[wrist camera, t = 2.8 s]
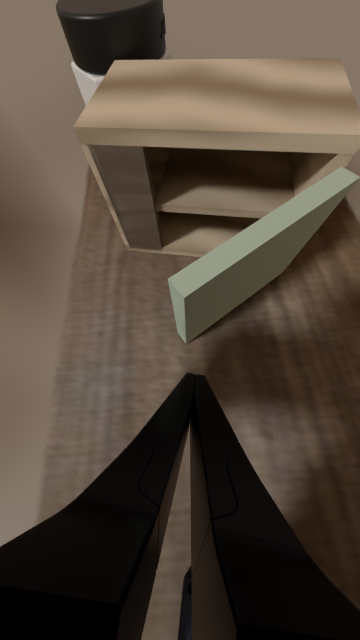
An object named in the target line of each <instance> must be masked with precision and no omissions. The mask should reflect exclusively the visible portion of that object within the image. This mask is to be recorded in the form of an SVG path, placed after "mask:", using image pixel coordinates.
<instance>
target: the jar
mask: <svg viewBox="0 0 360 640" xmlns="http://www.w3.org/2000/svg"><path fill="white" fill-rule="evenodd" d="M56 10H57V13H58V17H59V19H60V22H61V25H62V28H63V31H64V34H65V37H66V39H67V42H68V45H69V48H70V51H71V54H72V57H73V59H74V60H73V61H72V63H71V66H72V69H73V71H74V74H75V77H76V80H77V83H78V85H79V88H80V91H81V94H82V96H83V99H84V102H85V104H86V106H87V104H88V102H89V101H90V99H91V98H92V96H93V94H94V93H95V91H96V89H97V88H98V86H99V85H100V83H101V81H102V80H103V78H104V77H105V75H106V73H107V72H108V70H109V69H110V67H111V65H112V64H113V62H114V61H115V60H171V52H170V50H169V49H168V48H166V45H165V33H166V31H165V16H164V13H163V0H58V2H57V4H56Z"/></svg>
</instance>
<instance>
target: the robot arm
mask: <svg viewBox="0 0 360 640" xmlns="http://www.w3.org/2000/svg"><path fill="white" fill-rule="evenodd" d="M190 418H191V419H190ZM189 425H190V477H191V570H192V571H189V572H187V573H186V575H185V576H184V580H183V590H182V600H181V610H180V620H179V630H178V640H360V611H359V610H358V609H357V608H356V607H355V606H354V605H353V604H352V603H351V601H350V600H349V599H348V598H347V597H346V596H345V595H344V594H343V593H342V592H341V591H340V590H339V589H338V588H337V587H336V586H335V585H334V584H333V583H332V582H331V581H330V580H329V579H328V578H327V577H326V576H325V574H324V573H323V572H322V571H321V570H320V569H319V567H318V566H317V565H316V563H315V562H314V561H313V560H312V558H311V557H310V556H309V554H308V553H307V552H306V550H305V549H304V547H303V546H302V544H301V543H300V541H299V540H298V538H297V537H296V535H295V534H294V532H293V530H292V529H291V527H290V526H289V524H288V523H287V521H286V519H285V518H284V516H283V515H282V513H281V512H280V510H279V509H278V507H277V505H276V504H275V502H274V501H273V499H272V498H271V496H270V494H269V493H268V491H267V490H266V488H265V487H264V485H263V483H262V482H261V480H260V478H259V477H258V475H257V474H256V472H255V470H254V469H253V467H252V465H251V463H250V461H249V460H248V458H247V456H246V454H245V452H244V450H243V448H242V447H241V445H240V443H239V442H238V439H237V437H236V435H235V433H234V431H233V429H232V427H231V426H230V424H229V422H228V420H227V418H226V416H225V414H224V412H223V410H222V408H221V406H220V404H219V402H218V400H217V399H216V397H215V395H214V393H213V391H212V389H211V387H210V385H209V383H208V381H207V379H206V377H205V376H204V375H199V374H196V376H195V374H192V373H186V375H185V376H184V377H183V378H182V380H181V381H180V382H179V383H178V385H177V386H176V387H175V388H174V390H173V391H172V392H171V393H170V395H169V396H168V397H167V399H166V400H165V401H164V402H163V404H162V405H161V406H160V407H159V409H158V410H157V411H156V412H155V414H154V415H153V416H152V417H151V419H150V420H149V421H148V422H147V424H146V425H145V426H144V427H143V429H142V430H141V431H140V432H139V434H138V435H137V436H136V437H135V438H134V440H133V441H132V442H131V443H130V444H129V445H128V446H127V447H126V449H125V450H124V451H123V452H122V453H121V454H120V455H119V456H118V457H117V458H116V459H115V460H114V461H113V462H112V463H111V464H110V465H109V466H108V467H107V468H106V469H105V470H104V471H103V472H102V473H101V474H100V475H99V476H98V477H97V478H96V479H95V480H94V481H93V482H92V483H91V484H90V485H89V486H88V487H87V488H86V489H85V490H84V491H83V492H82V493H81V494H80V495H79V496H78V497H77V498H76V499H75V500H74V501H72V502H71V503H70V504H69V505H67V506H66V507H65V508H64V509H62V510H61V511H59V512H58V513H56V514H55V515H53V516H51V517H50V518H48V519H46V520H45V521H43V522H41V523H40V524H38V525H36V526H35V527H33V528H31V529H29V530H28V531H26V532H24V533H23V534H21V535H19V536H18V537H16V538H14V539H13V540H11V541H9V542H7V543H6V544H4V545H2V546H1V547H0V640H141V637H142V632H143V628H144V624H145V619H146V615H147V610H148V606H149V602H150V597H151V593H152V588H153V584H154V580H155V575H156V569H157V566H158V562H159V558H160V553H161V549H162V544H163V540H164V536H165V531H166V527H167V522H168V518H169V514H170V509H171V505H172V500H173V496H174V491H175V487H176V483H177V478H178V474H179V469H180V465H181V461H182V456H183V452H184V447H185V443H186V439H187V434H188V430H189ZM190 583H192V589H191V588H189V586H188V585H189V584H190Z"/></svg>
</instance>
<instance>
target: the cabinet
mask: <svg viewBox="0 0 360 640" xmlns="http://www.w3.org/2000/svg"><path fill="white" fill-rule="evenodd" d="M73 128H74V130H75V132H76V134H77V137H78V139H79V141H80V143H81V145H82V148H83V150H84V152H85V155H86V157H87V159H88V162H89V164H90V166H91V168H92V171H93V173H94V175H95V177H96V180H97V182H98V184H99V186H100V189H101V191H102V193H103V196H104V198H105V200H106V202H107V205H108V207H109V209H110V211H111V214H112V216H113V218H114V220H115V223H116V225H117V227H118V230H119V232H120V234H121V236H122V239H123V241H124V243H125V245H126V248H127V250H130V251H140V252H151V253H162V254H173V255H184V256H195V257H203V256H204V255H206V254H207V253H209V252H210V251H212V250H213V249H215V248H216V247H218V246H220V245H221V244H223V243H224V242H226V241H227V240H229V239H230V238H232V237H233V236H235V235H237V234H238V233H240V232H241V231H243V230H244V229H246V228H247V227H249V226H250V225H252V224H254V223H255V222H257V221H258V220H260V219H261V218H263V217H264V216H266V215H267V214H269V213H270V212H272V211H274V210H275V209H277V208H278V207H280V206H281V205H283V204H284V203H286V202H287V201H289V200H291V199H292V198H294V197H295V196H297V195H298V194H300V193H301V192H303V191H304V190H306V189H308V188H309V187H311V186H312V185H314V184H315V183H317V182H318V181H320V180H321V179H323V178H324V177H326V176H328V175H329V174H331V173H332V172H334V171H335V170H337V169H338V168H340V167H343V168H345V167H346V165H347V164H348V162H349V161H350V160H351V158H352V157H353V155H354V154H355V153H356V151H357V150H358V148H359V147H360V112H359V109H358V106H357V103H356V101H355V98H354V95H353V92H352V89H351V86H350V84H349V81H348V78H347V75H346V73H345V70H344V67H343V64H342V61H341V59H340V58H310V59H309V58H307V59H187V60H185V59H184V60H115V61H114V62H113V64H112V65H111V67H110V69H109V70H108V72H107V73H106V75H105V77H104V78H103V80H102V81H101V83H100V85H99V86H98V88H97V89H96V91H95V93H94V94H93V96H92V98H91V99H90V101H89V102H88V104H87V106H86V107H85V109H84V110H83V112H82V114H81V115H80V117H79V118H78V120H77V122H76V123H75V125H74V127H73Z"/></svg>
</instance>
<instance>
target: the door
mask: <svg viewBox="0 0 360 640" xmlns="http://www.w3.org/2000/svg"><path fill="white" fill-rule="evenodd" d="M359 178H360V177H359V176H357V175H356V174H354V173H352V172H350V171H348V170H347V169H345V168H343V167H340V168H338V169H337V170H335V171H334V172H332V173H331V174H329V175H328V176H326V177H324V178H323V179H321V180H320V181H318V182H317V183H315V184H314V185H312V186H311V187H309V188H308V189H306V190H304V191H303V192H301V193H300V194H298V195H297V196H295V197H294V198H292V199H291V200H289V201H287V202H286V203H284V204H283V205H281V206H280V207H278V208H277V209H275V210H274V211H272V212H270V213H269V214H267V215H266V216H264V217H263V218H261V219H260V220H258V221H257V222H255V223H254V224H252V225H250V226H249V227H247V228H246V229H244V230H243V231H241V232H240V233H238V234H237V235H235V236H233V237H232V238H230V239H229V240H227V241H226V242H224V243H223V244H221V245H220V246H218V247H216V248H215V249H213V250H212V251H210V252H209V253H207V254H206V255H204V256H203V257H201V258H199V259H198V260H196V261H195V262H193V263H192V264H190V265H189V266H187V267H186V268H184V269H183V270H181V271H179V272H178V273H176V274H175V275H173V276H172V277H170V278H169V279H168V282H169V287H170V293H171V298H172V303H173V309H174V314H175V319H176V325H177V330H178V334H179V335H180V337H181V338H182V339H183V341H184V342H185V343H186V344H187V343H188V342H190V341H191V340H192V339H194V338H195V337H196V336H198V335H199V334H200V333H202V332H203V331H204V330H206V329H207V328H209V327H210V326H211V325H213V324H214V323H215V322H217V321H218V320H219V319H221V318H222V317H223V316H225V315H226V314H227V313H229V312H230V311H231V310H233V309H234V308H235V307H237V306H238V305H239V304H241V303H242V302H244V301H245V300H246V299H248V298H249V297H250V296H252V295H253V294H254V293H256V292H257V291H258V290H260V289H261V288H262V287H264V286H265V285H266V284H268V283H269V282H270V281H272V280H273V279H275V278H276V277H277V276H279V275H280V274H281V273H283V271H284V270H285V269H286V268H287V266H288V265H289V264H290V263H291V262H292V260H293V259H294V258H295V257H296V255H297V254H298V253H299V252H300V251H301V249H302V248H303V247H304V246H305V244H306V243H307V242H308V241H309V240H310V238H311V237H312V236H313V235H314V233H315V232H316V231H317V230H318V229H319V227H320V226H321V225H322V224H323V222H324V221H325V220H326V219H327V218H328V216H329V215H330V214H331V213H332V211H333V210H334V209H335V208H336V207H337V205H338V204H339V203H340V202H341V200H342V199H343V198H344V197H345V196H346V194H347V193H348V192H349V190H350V189H351V188H352V187H353V185H355V183H356V182H357V181H358V179H359Z"/></svg>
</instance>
